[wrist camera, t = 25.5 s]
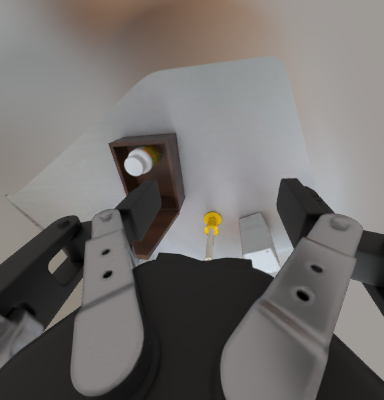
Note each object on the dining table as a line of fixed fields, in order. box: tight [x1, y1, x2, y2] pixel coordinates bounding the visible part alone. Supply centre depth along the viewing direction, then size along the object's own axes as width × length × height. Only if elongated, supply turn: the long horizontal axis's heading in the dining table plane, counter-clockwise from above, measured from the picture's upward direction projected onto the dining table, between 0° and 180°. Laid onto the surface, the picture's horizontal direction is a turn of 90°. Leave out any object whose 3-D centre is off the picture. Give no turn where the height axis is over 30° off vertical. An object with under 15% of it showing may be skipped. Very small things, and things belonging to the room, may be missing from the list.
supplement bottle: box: [124, 144, 161, 176], centre depth 38 cm, size 5×5×10 cm
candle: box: [204, 212, 222, 261], centre depth 44 cm, size 5×5×16 cm
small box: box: [239, 212, 281, 273], centre depth 44 cm, size 8×6×13 cm
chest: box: [109, 133, 185, 211], centre depth 42 cm, size 18×14×6 cm
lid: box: [132, 210, 179, 260], centre depth 36 cm, size 18×14×5 cm
